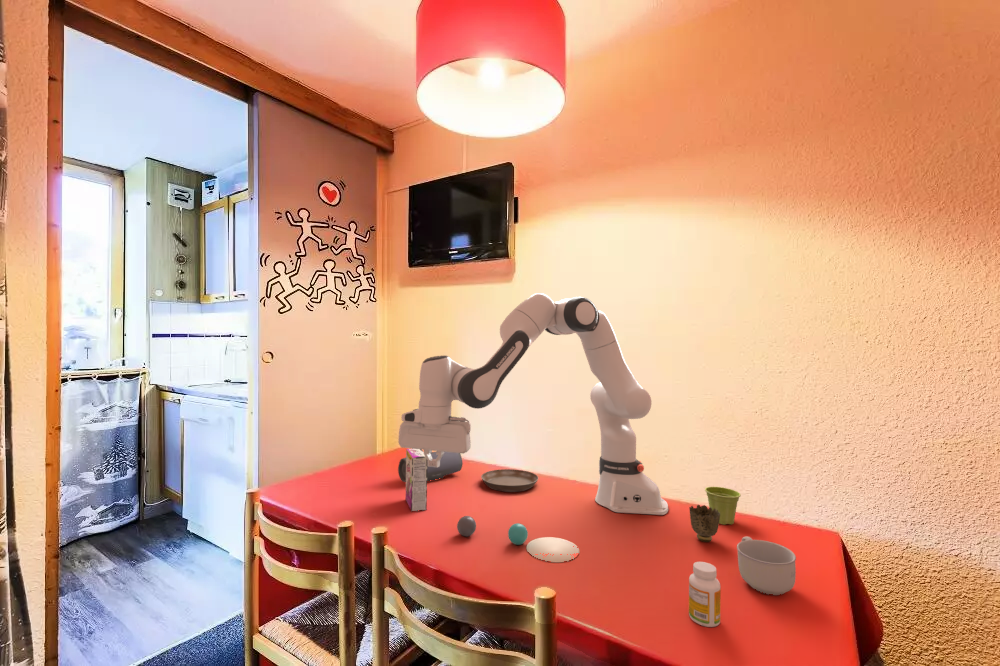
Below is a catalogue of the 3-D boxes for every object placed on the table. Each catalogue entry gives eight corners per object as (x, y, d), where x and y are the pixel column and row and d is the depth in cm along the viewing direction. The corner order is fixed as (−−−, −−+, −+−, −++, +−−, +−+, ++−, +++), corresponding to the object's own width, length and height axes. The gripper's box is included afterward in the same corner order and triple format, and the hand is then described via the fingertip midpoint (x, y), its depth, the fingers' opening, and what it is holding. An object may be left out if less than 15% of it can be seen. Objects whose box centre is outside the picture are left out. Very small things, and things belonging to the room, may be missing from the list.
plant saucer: (480, 476, 169) (480, 467, 169) (534, 476, 170) (534, 468, 170) (481, 495, 148) (481, 485, 148) (542, 495, 150) (542, 485, 150)
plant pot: (709, 512, 136) (709, 484, 136) (743, 520, 130) (743, 491, 130) (700, 521, 129) (701, 491, 129) (736, 530, 123) (736, 499, 123)
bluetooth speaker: (449, 471, 174) (450, 446, 174) (463, 477, 167) (463, 450, 167) (396, 482, 159) (397, 454, 160) (409, 489, 152) (409, 459, 153)
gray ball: (478, 533, 118) (479, 514, 118) (471, 541, 113) (472, 521, 113) (461, 530, 119) (461, 511, 119) (453, 538, 114) (454, 518, 115)
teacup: (805, 605, 88) (805, 564, 88) (746, 597, 90) (746, 558, 90) (776, 570, 101) (776, 535, 102) (725, 564, 104) (726, 530, 104)
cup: (702, 547, 112) (702, 516, 112) (682, 535, 119) (683, 505, 119) (726, 545, 114) (726, 513, 114) (706, 533, 121) (706, 503, 121)
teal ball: (529, 541, 114) (529, 521, 114) (524, 549, 109) (525, 529, 109) (510, 538, 115) (511, 519, 115) (505, 546, 110) (505, 526, 110)
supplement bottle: (711, 610, 85) (711, 559, 86) (726, 628, 80) (726, 573, 80) (683, 610, 85) (684, 559, 85) (697, 628, 80) (697, 573, 80)
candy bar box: (404, 499, 141) (405, 448, 142) (419, 498, 143) (421, 447, 144) (410, 512, 131) (412, 457, 131) (427, 510, 133) (428, 455, 133)
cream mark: (582, 542, 114) (582, 541, 114) (575, 566, 101) (575, 565, 101) (533, 534, 117) (533, 534, 117) (520, 557, 105) (520, 556, 105)
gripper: (474, 416, 120) (473, 467, 119) (407, 411, 126) (406, 460, 125) (466, 419, 114) (464, 473, 113) (396, 414, 120) (394, 465, 119)
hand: (433, 466), depth 119 cm, fingers closed
